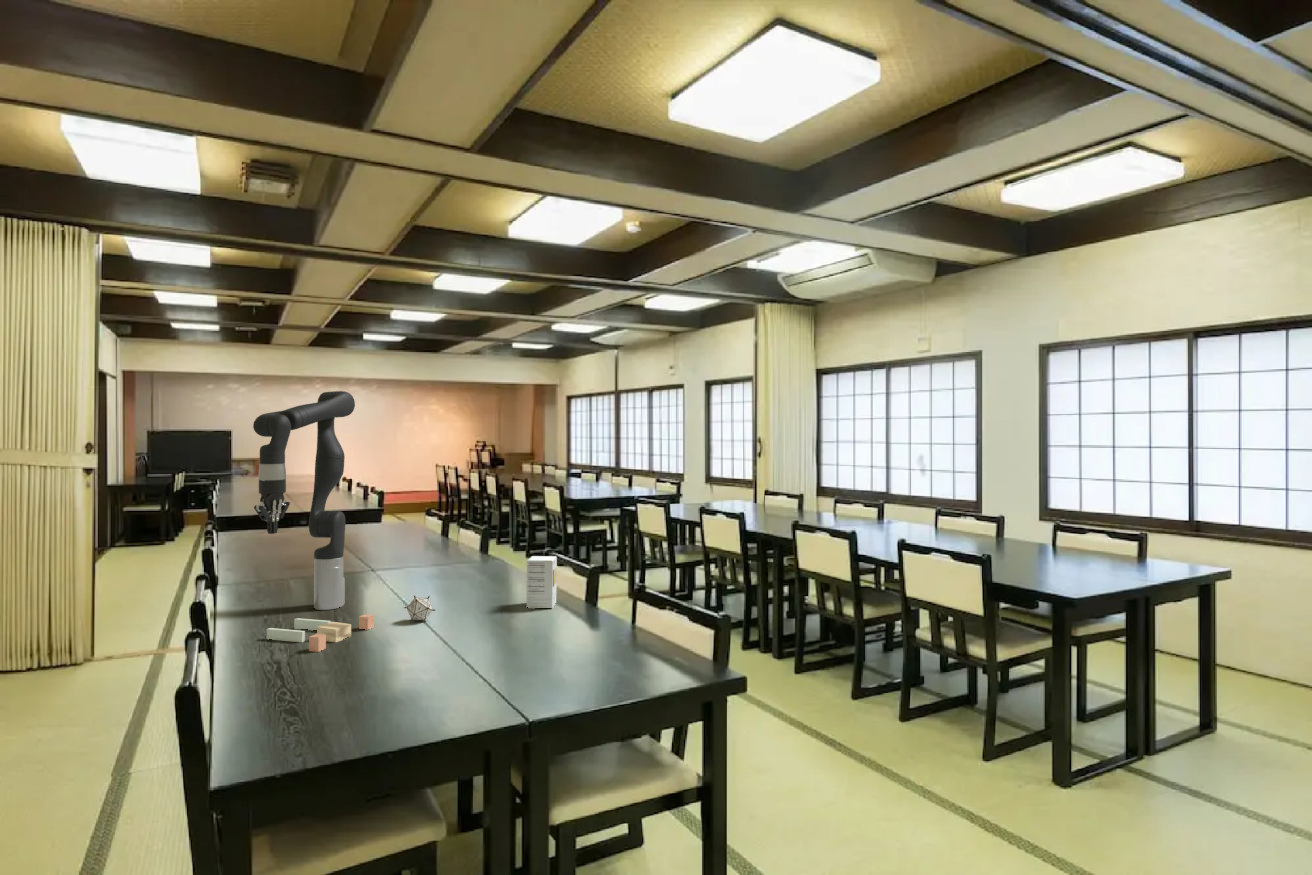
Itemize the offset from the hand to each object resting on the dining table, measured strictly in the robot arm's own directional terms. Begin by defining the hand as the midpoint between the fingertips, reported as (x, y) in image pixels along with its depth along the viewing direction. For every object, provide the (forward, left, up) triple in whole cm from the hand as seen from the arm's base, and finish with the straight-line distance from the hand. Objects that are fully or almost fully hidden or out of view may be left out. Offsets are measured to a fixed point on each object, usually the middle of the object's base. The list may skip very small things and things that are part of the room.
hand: (272, 533), depth 224 cm
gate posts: (+7, +31, -29) cm, 43 cm away
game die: (-16, +42, -29) cm, 53 cm away
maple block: (+7, +28, -29) cm, 41 cm away
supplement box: (-45, +72, -29) cm, 90 cm away
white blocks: (+7, +16, -29) cm, 33 cm away
